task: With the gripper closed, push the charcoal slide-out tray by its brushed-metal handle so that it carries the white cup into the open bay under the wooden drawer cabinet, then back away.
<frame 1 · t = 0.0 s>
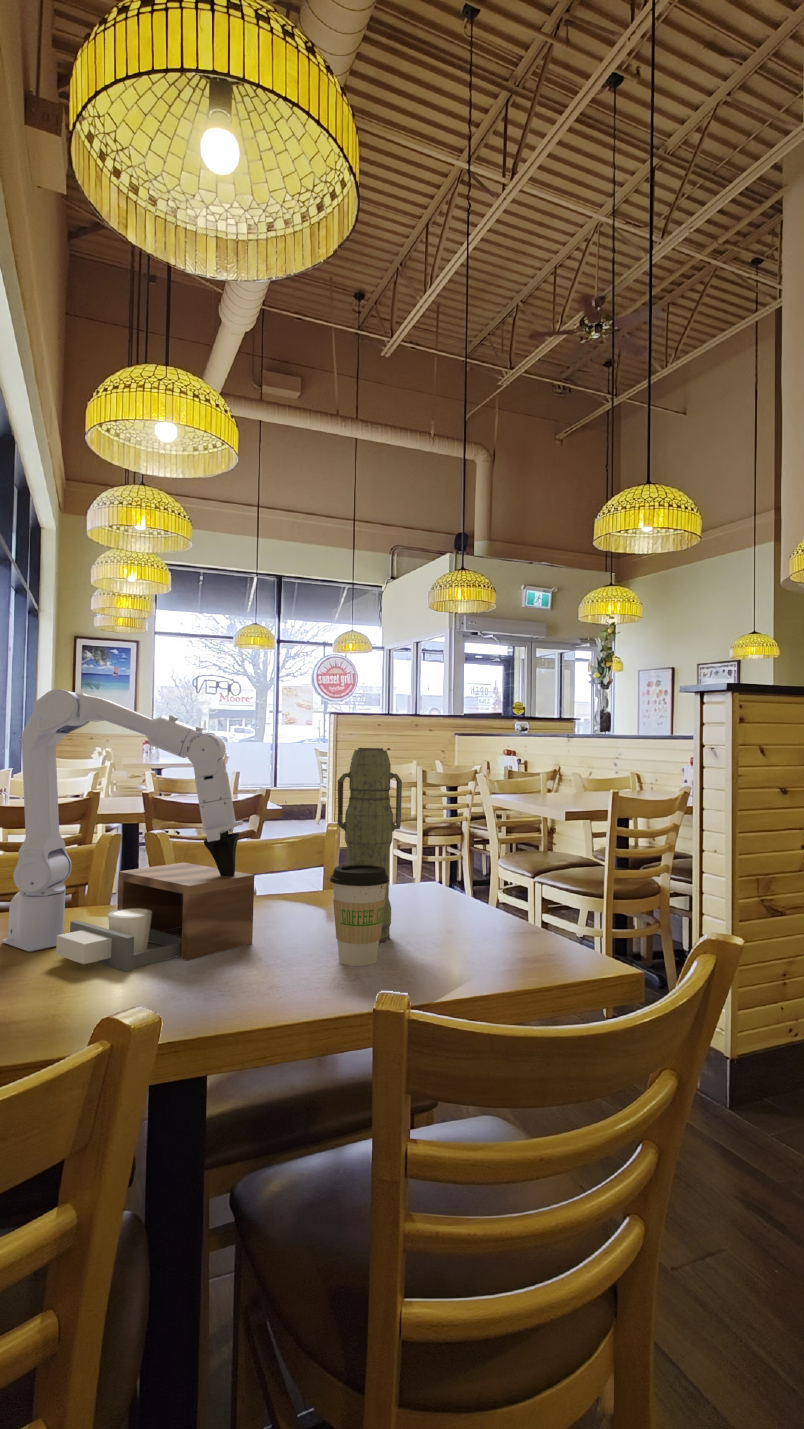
hand: (228, 876, 128), 12 cm above the table, tool pointing down, fingers closed, pressing on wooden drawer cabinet
shelf tray: (121, 939, 119), point 3 cm above the table, slide at 9.0 cm
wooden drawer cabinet: (184, 941, 129), on the table
white cup: (128, 956, 120), resting in shelf tray
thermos: (365, 938, 134), on the table
coffee cup: (357, 961, 120), on the table
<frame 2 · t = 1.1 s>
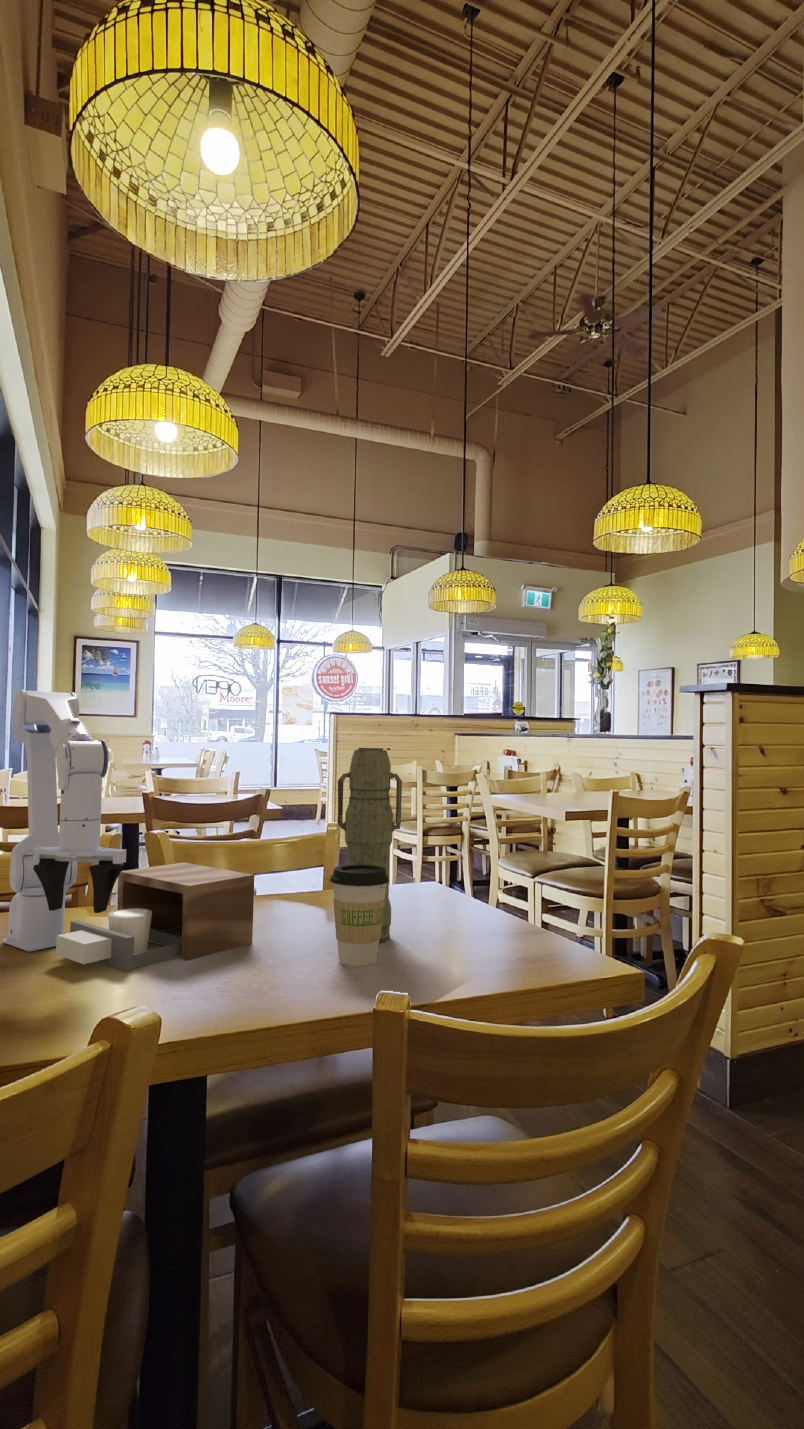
hand: (77, 910, 109), 10 cm above the table, tool pointing down, fingers open, 7 cm apart
nothing on the table moved.
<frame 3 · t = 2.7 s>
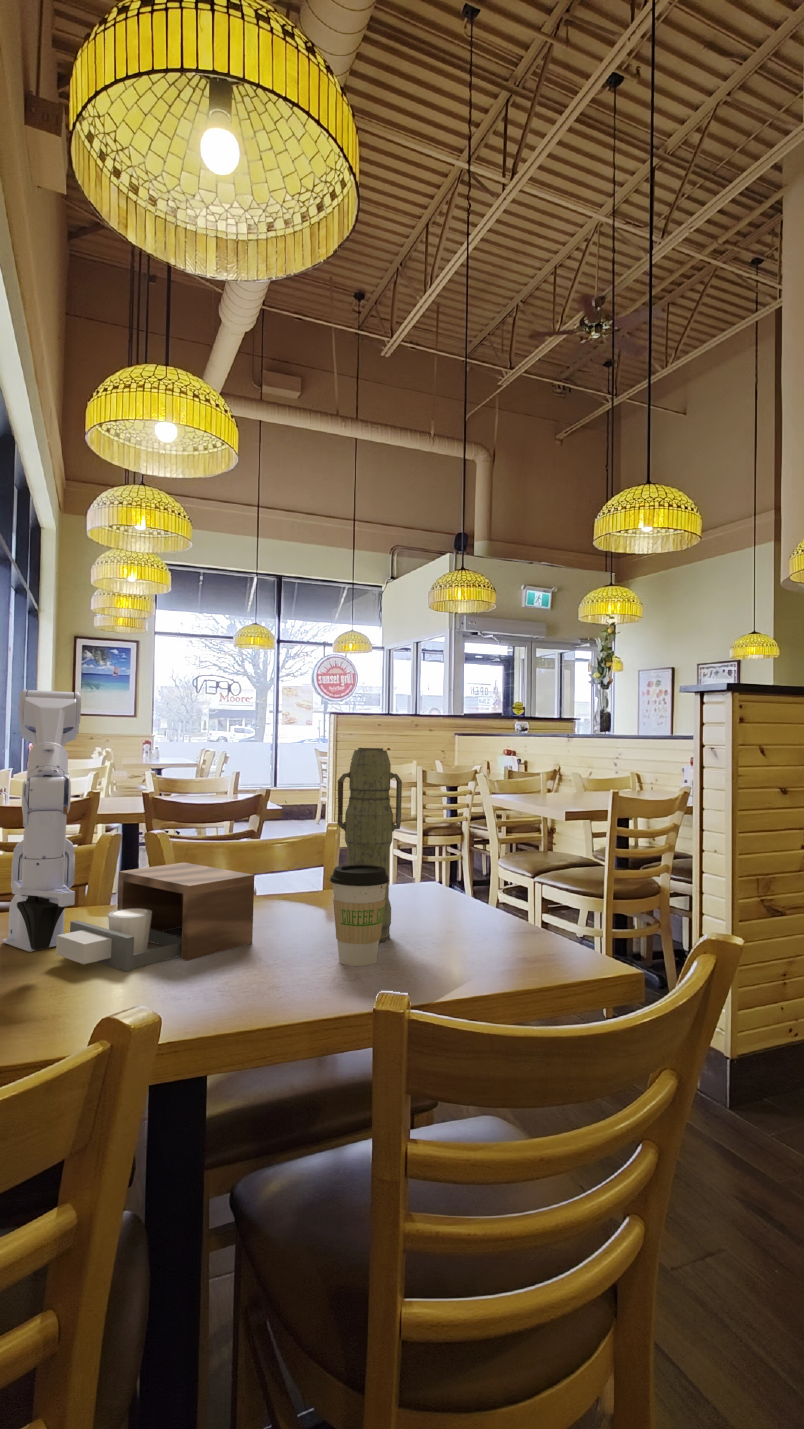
hand: (40, 948, 108), 4 cm above the table, tool pointing down, fingers closed
nothing on the table moved.
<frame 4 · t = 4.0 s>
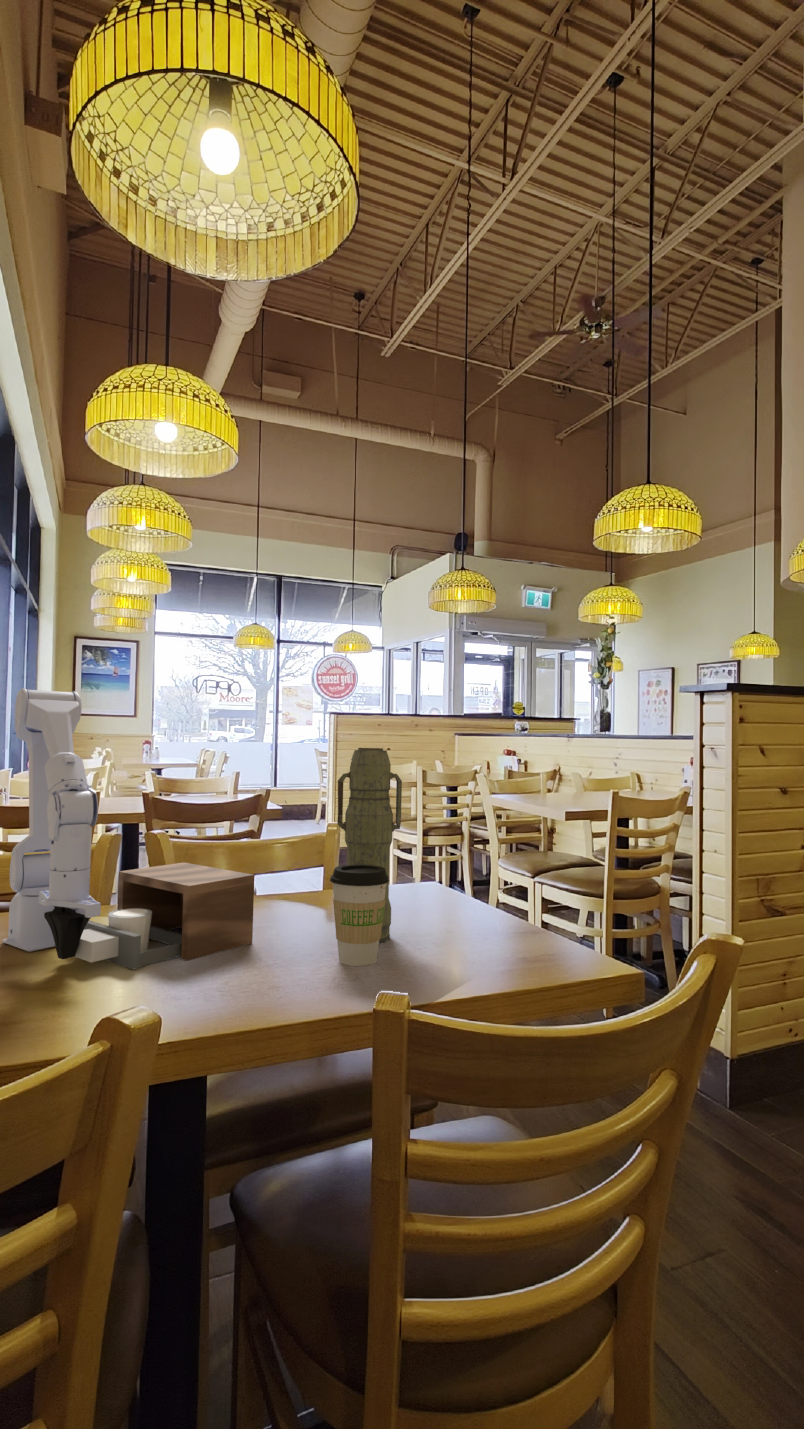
hand: (66, 957, 112), 2 cm above the table, tool pointing down, fingers closed, pressing on shelf tray
shelf tray: (127, 938, 120), point 3 cm above the table, slide at 7.8 cm, touching gripper
everything else where it was.
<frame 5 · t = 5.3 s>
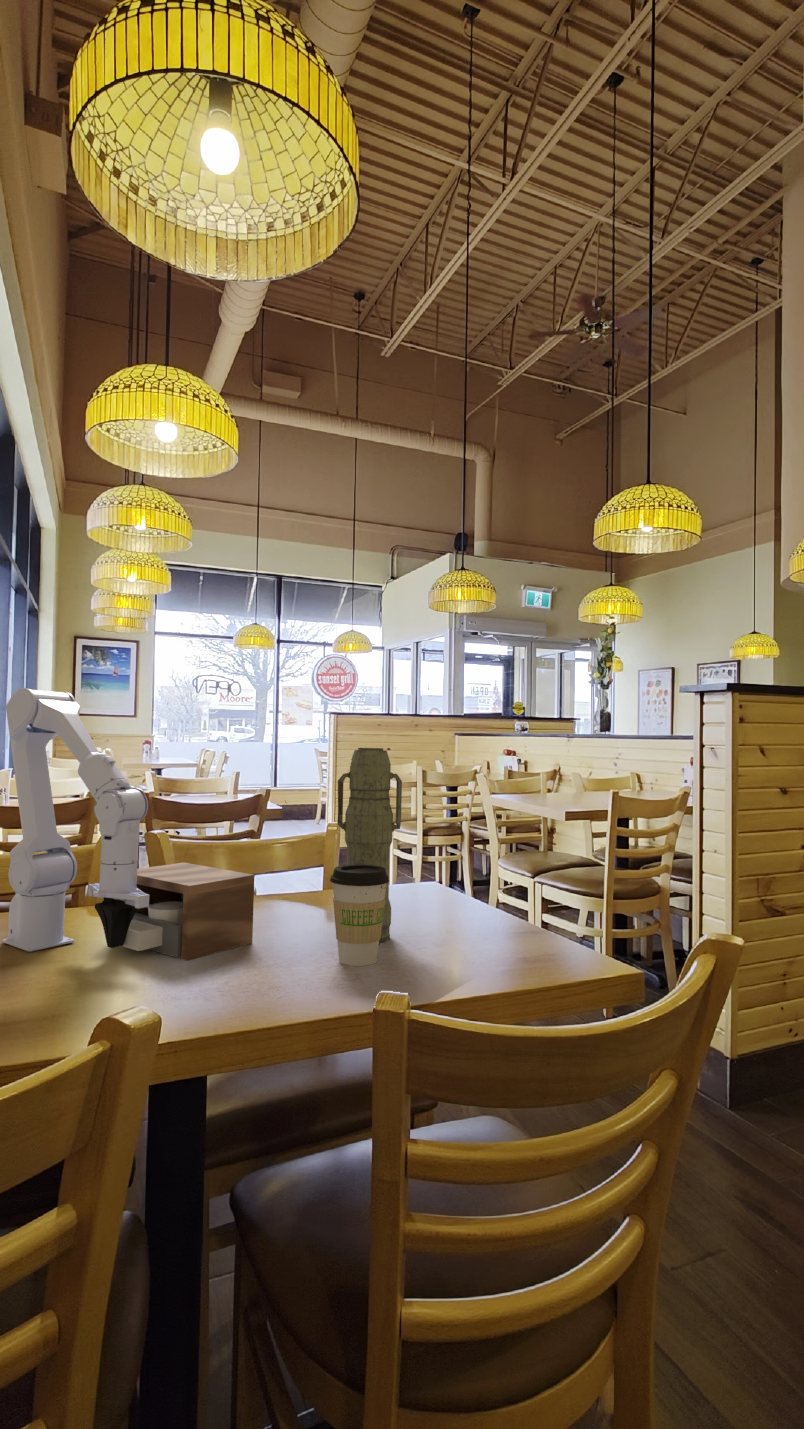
hand: (115, 946, 118), 2 cm above the table, tool pointing down, fingers closed, pressing on shelf tray
shelf tray: (169, 929, 126), point 3 cm above the table, slide at -0.3 cm, touching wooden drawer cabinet, gripper
white cup: (167, 946, 126), resting in shelf tray
everything else where it was.
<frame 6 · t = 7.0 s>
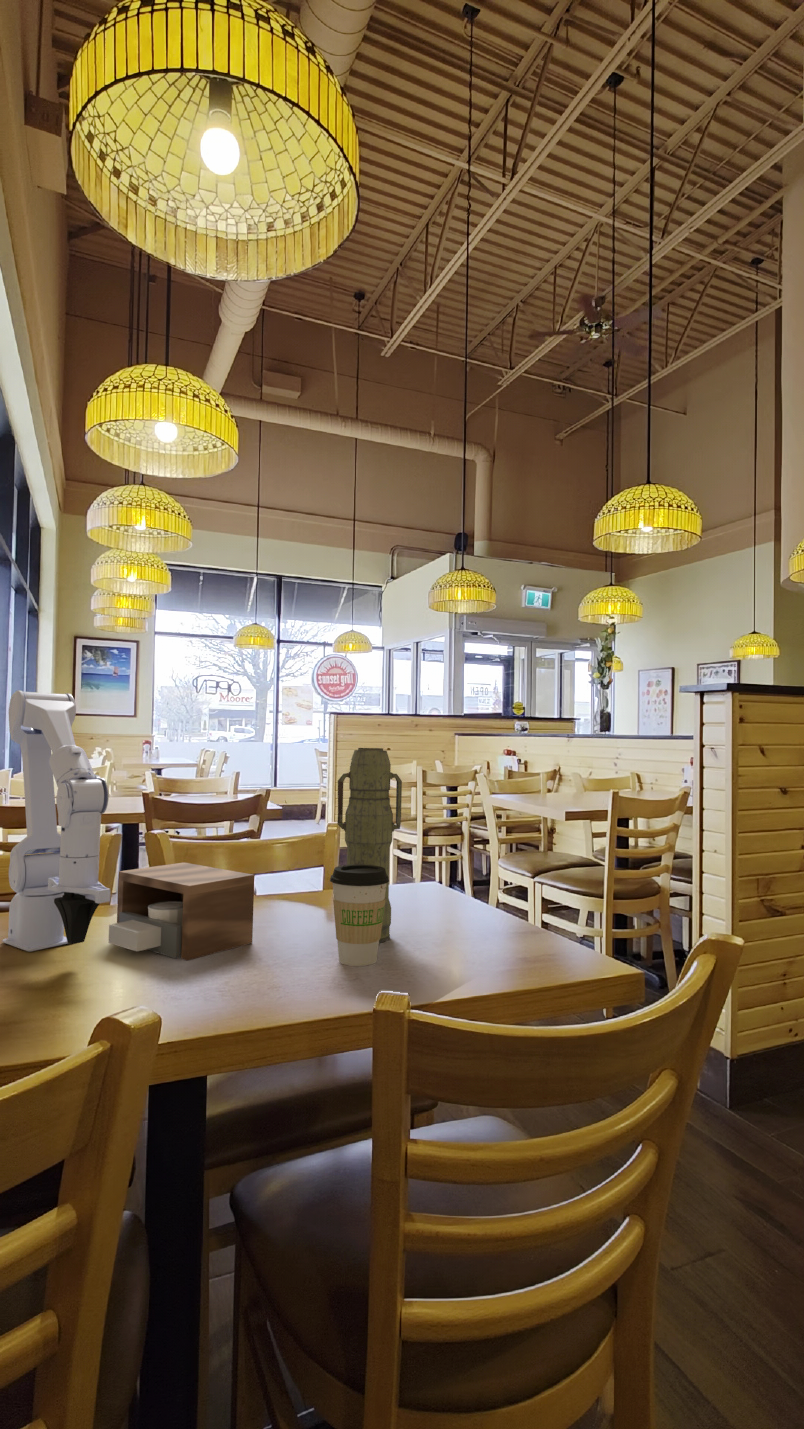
hand: (75, 942, 114), 4 cm above the table, tool pointing down, fingers closed
shelf tray: (167, 929, 126), point 3 cm above the table, slide at 0.0 cm
everything else where it was.
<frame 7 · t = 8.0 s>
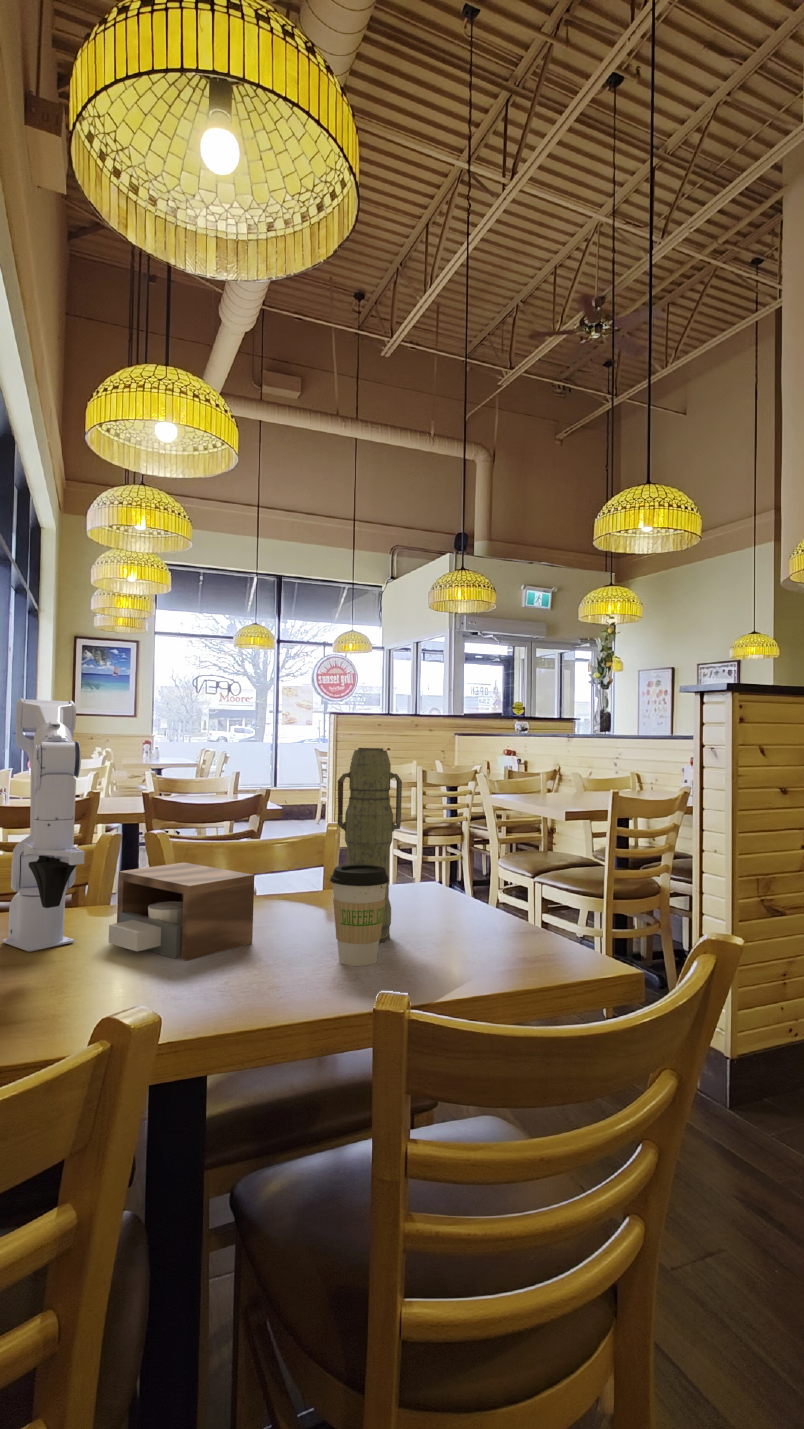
hand: (50, 906, 113), 9 cm above the table, tool pointing down, fingers closed
nothing on the table moved.
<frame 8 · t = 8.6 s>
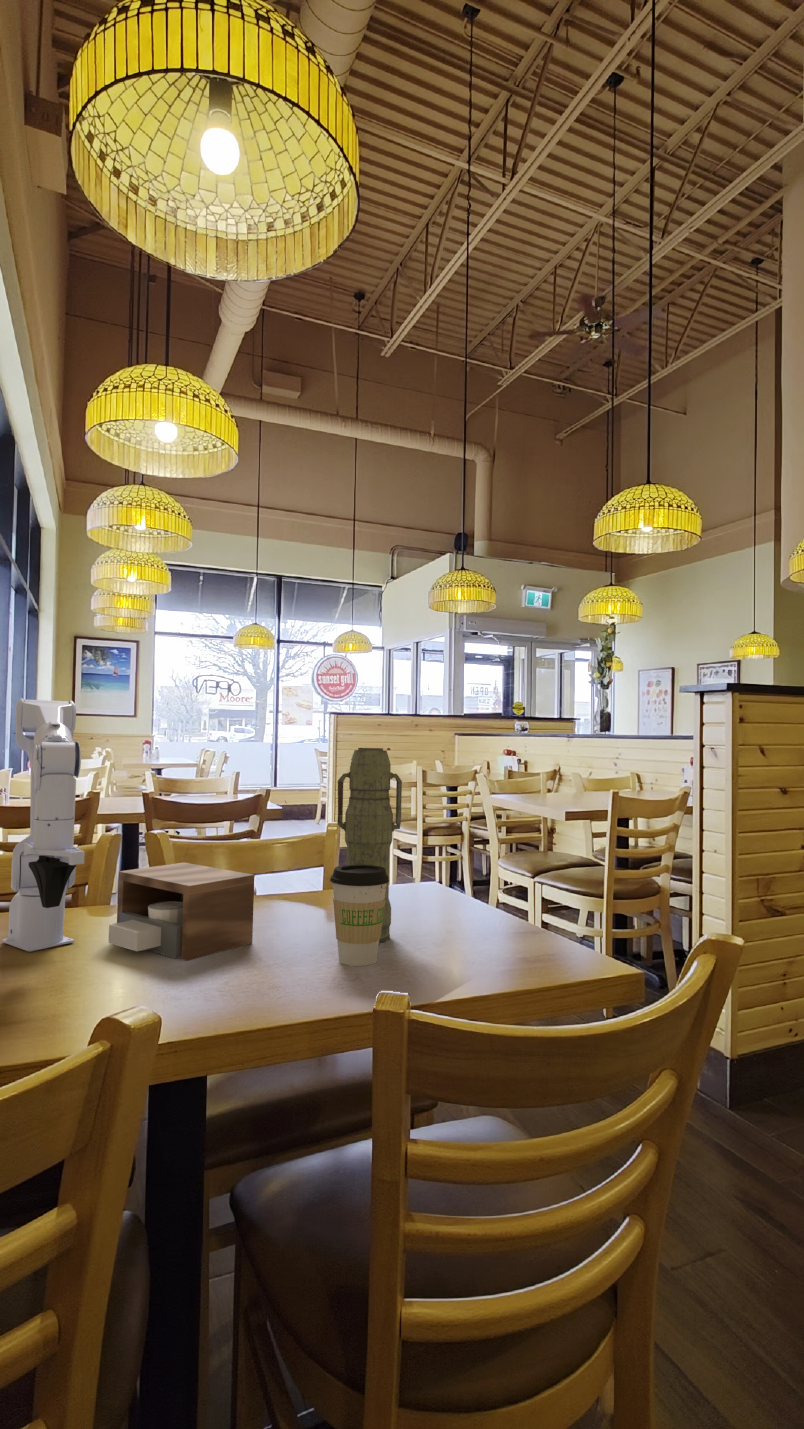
hand: (50, 906, 113), 9 cm above the table, tool pointing down, fingers closed
nothing on the table moved.
at the end: shelf tray slide at 0.0 cm; white cup inside the target area on the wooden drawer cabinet (4.0 cm from its centre), point 0.0 cm above the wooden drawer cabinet's base; white cup tilted 0° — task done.
